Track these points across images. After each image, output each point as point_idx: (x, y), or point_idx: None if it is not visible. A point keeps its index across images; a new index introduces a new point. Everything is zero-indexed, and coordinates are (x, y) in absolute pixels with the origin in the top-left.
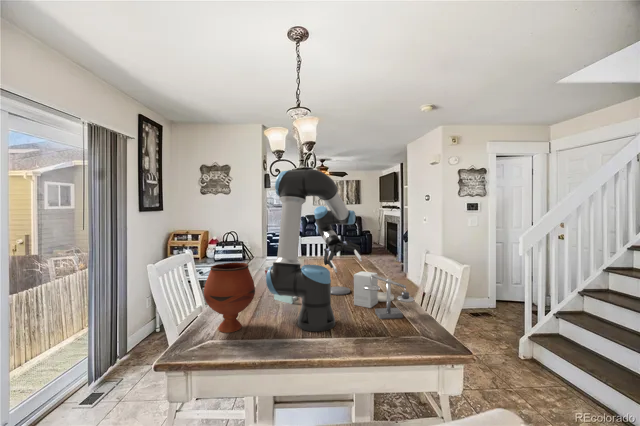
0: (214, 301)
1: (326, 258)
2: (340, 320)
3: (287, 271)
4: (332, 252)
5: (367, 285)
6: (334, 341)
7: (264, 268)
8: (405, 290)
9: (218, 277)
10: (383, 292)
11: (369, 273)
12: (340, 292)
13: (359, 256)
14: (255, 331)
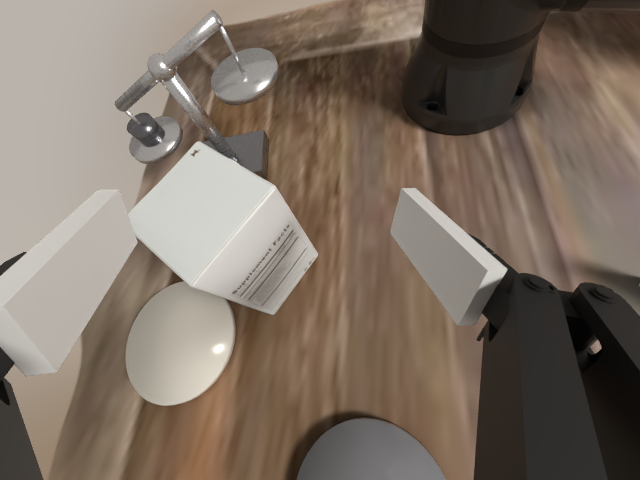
0: None
1: (611, 359)
2: (383, 121)
3: None
4: (543, 478)
5: (254, 83)
6: (403, 26)
7: None
8: (132, 115)
9: None
10: (143, 395)
11: (171, 203)
12: (362, 430)
13: (101, 199)
14: None
